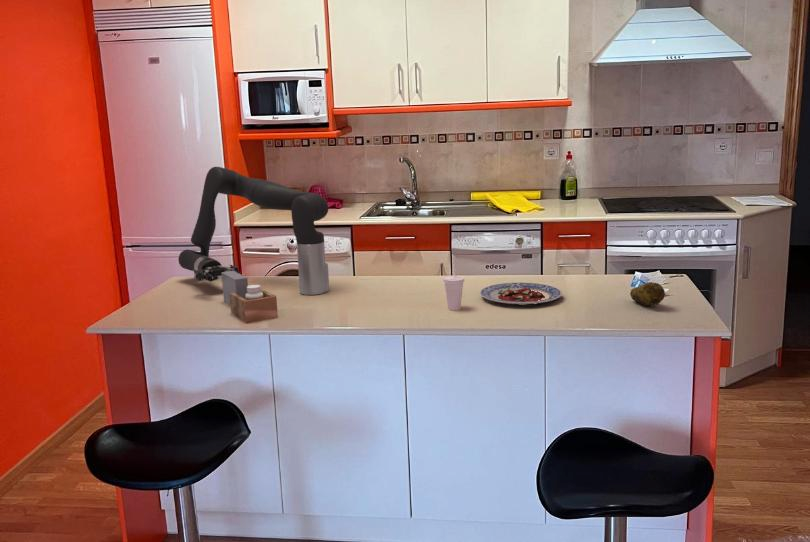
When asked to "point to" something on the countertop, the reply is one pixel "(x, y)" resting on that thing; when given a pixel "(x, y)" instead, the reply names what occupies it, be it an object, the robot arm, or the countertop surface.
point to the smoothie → (454, 290)
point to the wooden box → (254, 307)
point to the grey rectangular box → (233, 285)
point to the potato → (648, 293)
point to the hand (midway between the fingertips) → (223, 276)
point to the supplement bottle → (253, 292)
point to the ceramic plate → (520, 293)
